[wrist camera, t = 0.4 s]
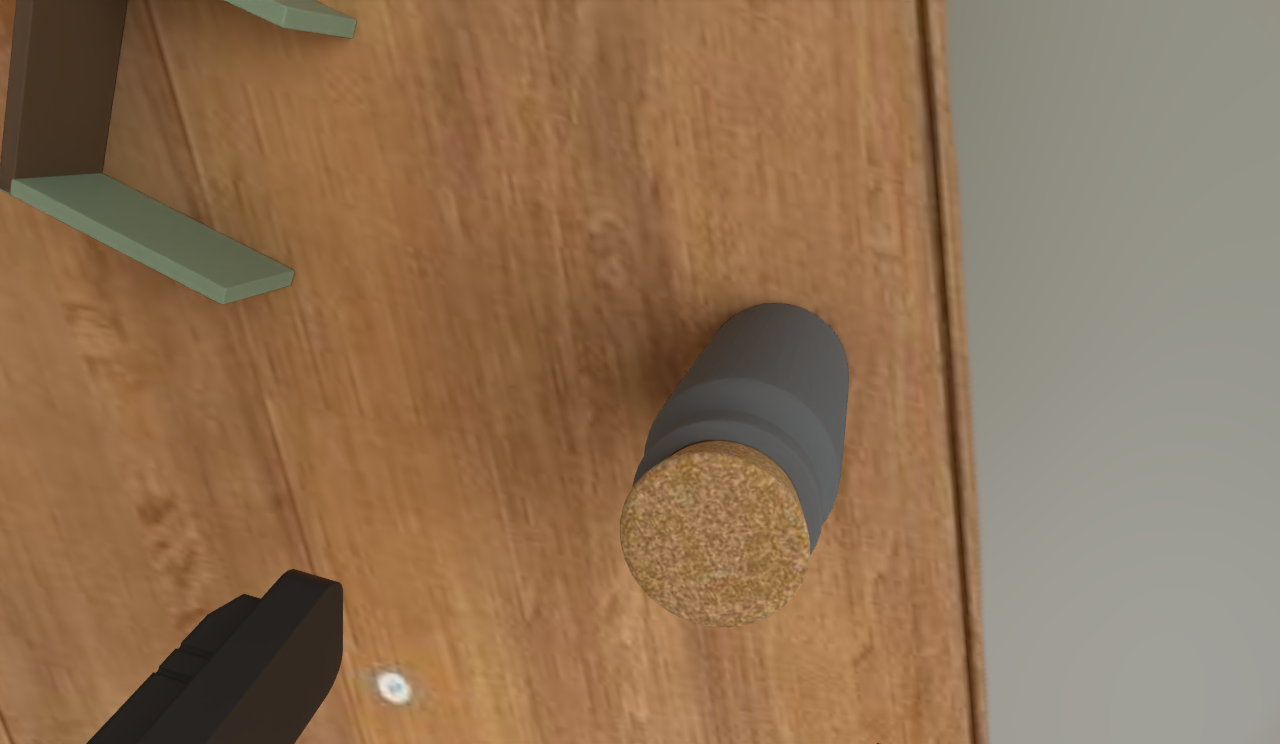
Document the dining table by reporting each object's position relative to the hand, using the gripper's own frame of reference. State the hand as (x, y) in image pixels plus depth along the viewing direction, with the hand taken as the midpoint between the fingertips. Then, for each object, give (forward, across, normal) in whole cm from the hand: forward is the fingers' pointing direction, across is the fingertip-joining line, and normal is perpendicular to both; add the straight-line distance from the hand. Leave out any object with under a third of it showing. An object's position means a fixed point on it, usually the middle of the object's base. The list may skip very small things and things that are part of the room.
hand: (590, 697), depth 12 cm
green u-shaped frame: (+26, +24, +1) cm, 35 cm away
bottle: (+23, -3, +5) cm, 23 cm away
